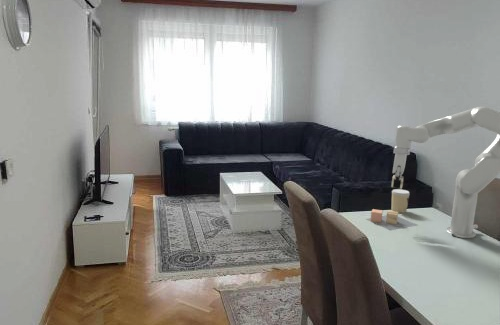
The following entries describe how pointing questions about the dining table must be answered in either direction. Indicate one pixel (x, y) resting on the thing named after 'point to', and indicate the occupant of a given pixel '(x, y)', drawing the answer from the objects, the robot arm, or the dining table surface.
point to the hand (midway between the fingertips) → (396, 185)
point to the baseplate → (400, 224)
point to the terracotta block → (376, 215)
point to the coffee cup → (400, 200)
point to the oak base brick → (391, 217)
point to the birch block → (401, 181)
